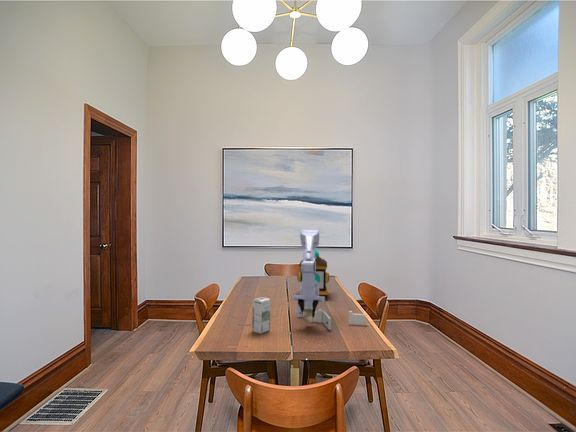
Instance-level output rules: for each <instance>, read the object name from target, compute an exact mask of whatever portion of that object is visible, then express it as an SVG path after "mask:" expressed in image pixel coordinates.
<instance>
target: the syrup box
mask: <svg viewBox="0 0 576 432" xmlns="http://www.w3.org/2000/svg"><path fill="white" fill-rule="evenodd" d="M251 326H252V328H251V329H252V332H254V333H257V334H260V335H262V334H264V333H267V332H270V331H271V298H268V297H263V296H261V297H257V298H254V299H252V325H251Z"/></svg>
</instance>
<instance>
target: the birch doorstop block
mask: <svg viewBox="0 0 576 432" xmlns="http://www.w3.org/2000/svg"><path fill="white" fill-rule="evenodd" d="M312 313H313V308H311V307H305V309H304V311H303V317H302V323H304V324H305V323H306V324H307V323H308V324H312V323H313V322H312V321H313V318H314V317H312Z"/></svg>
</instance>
